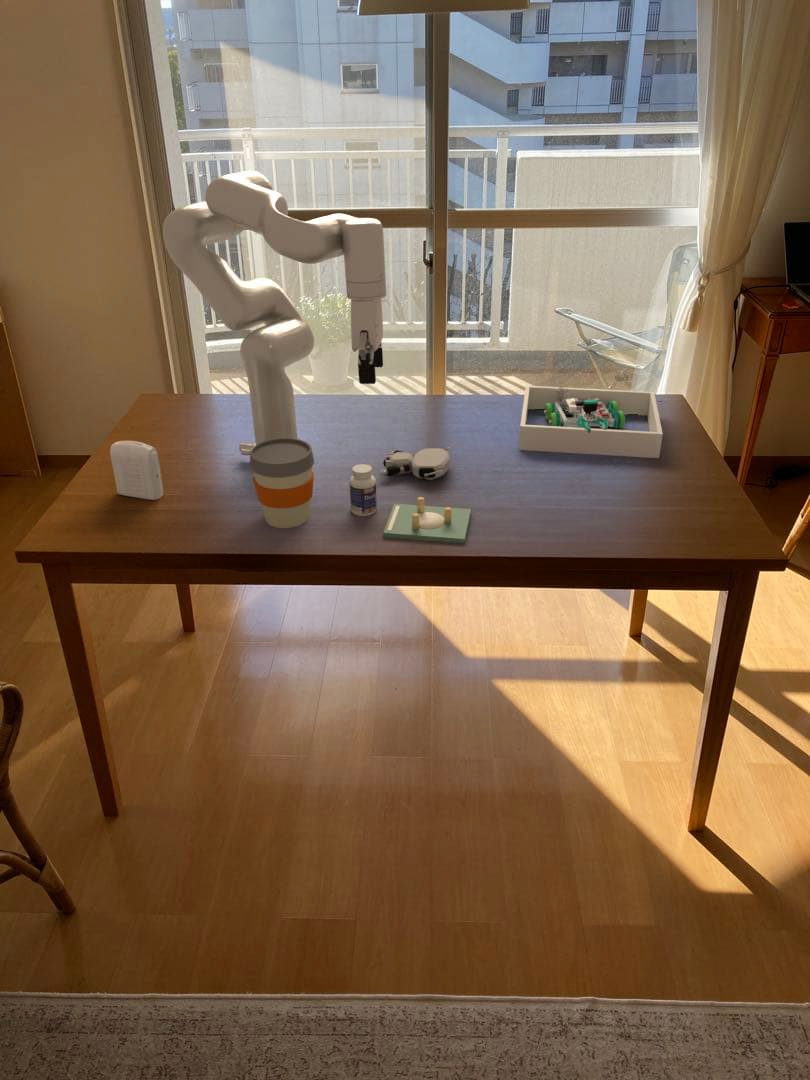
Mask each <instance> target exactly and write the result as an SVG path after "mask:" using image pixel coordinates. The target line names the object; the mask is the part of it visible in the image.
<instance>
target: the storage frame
mask: <svg viewBox="0 0 810 1080" xmlns="http://www.w3.org/2000/svg"><path fill="white" fill-rule="evenodd" d="M559 387H560V386H542V385H541V386H540V385H539V386H538V385H525V390H524V397H523V402H522V403H523V405H522V409H521V410H522V411H521V418H520V419H521V420H520V424H519V427H520V428H519V440H518V441H519V442H518V450H519V451H533V452H551V453H565V454H581V455H584V454H585V455H601V456H616V457H617V456H618V457H633V458H648V459H649V458H651V459H660V455H661V447H662V442H663V435H664V434H663V428H662V424H661V418H660V413H659V410H658V409H659V408H658V405H657V404H658V403H657V399H656V393H655V391H646V390H645V391H644V390H643V391H642V390H641V391H640V390H624V389H623V390H622V389H621V390H620V389H602V388H601V389H600V388H599V389H598V388H583V387H563V388H564V389H568V390H565V391H568V393H569V399H571V398H589V399H590V400H594V399H595V398H599V399H600V401H602V402H603V404H604V405H605V407H606V409H607V404H608V402H611V403H612V402H613V401H616V402H617V404H618V412H619V411H623V412H624V413H627V414H626V415H628V414H638V415H637V416H646V417H647V422H648V427H649V431H645V430H643V431H642V430H630V429H629V430H628V429H625V430H623V429H608V428H607V429H605V430H603V428H594V427H593V428H592V427H590V428H591V433H587V432H588V430H587V429H585V428H580V427H564V426H560V427H557V426H550V425H535V424H527V421H528V413H529V410H534V409H545V405H546V404H547V403H550V404H552V403H554V404H555V403H556V402H558V403H562V400H561V401H560V400H558V399H557V398H556V390H557V389H558V388H559ZM566 399H567V398H566ZM563 400H564V399H563ZM559 405H560V404H559ZM559 405H558V406H559ZM562 405H563V404H562ZM562 405H561V406H562ZM564 406H565V405H564Z"/></svg>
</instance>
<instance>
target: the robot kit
mask: <svg viewBox="0 0 810 1080" xmlns="http://www.w3.org/2000/svg"><path fill="white" fill-rule="evenodd" d="M558 387H559V388H558V389H557V390H556V398H557V399H558V400H560V401H561V400H562V403H558V402H556V403H555V404H554V403H552V404H550V403H547V404H546V405H545V410H543V413H544V417H545V419H546V421H548V423H549V426H557V427H561V425H562V426H563V427H575V428H585V429H587V430H588V432H587V433H591V428H592V427H599V428H600V429H603V430H605V429H608V427H614V428H615V429H617V428H619V429H623V428H624V426H625V423H626V416H625V415H626V414H624V412H623V411H619V412H618V404H617V402H616V401H613V402H612V403H611V402H608V404H607V409H606V407H605V405H604V404H603V402H602V401H600V399H599V398H595V399H594V400H590V399H589V398H571V399H569V393H568V391H565V390H568V389H564V388H565V387H564V388H563V387H561V386H558ZM566 398H567V399H566ZM563 399H564V400H563ZM559 404H560V405H559ZM562 404H563V405H562ZM558 405H559V406H558ZM561 405H562V406H561ZM564 405H565V406H564ZM562 410H568V411H562Z"/></svg>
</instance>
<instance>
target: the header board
mask: <svg viewBox="0 0 810 1080" xmlns="http://www.w3.org/2000/svg"><path fill="white" fill-rule="evenodd" d="M416 499H417V500H416V501H417V502H416V503H417V505H416V504H403V503H393V505H392V509H391V511H390V514H389V517H388V519H387V522H386V524H385V527H384V529H383V535H382V536H383V538H391V539H404V540H416V541H417V540H419V541H428V542H429V541H431V542H439V543H440V542H444V543H452V544H453V543H456V544H465V543H466V538H467V534H468V528H469V525H470V520H471V515H472V509H471V508H462V507H461V508H459V507H449V506H447V507H446V506H445V507H444V506H433V505H431V506H430V505H425V498H424V497H422V496H418V497H417V498H416Z"/></svg>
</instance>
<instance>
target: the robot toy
mask: <svg viewBox="0 0 810 1080" xmlns="http://www.w3.org/2000/svg"><path fill="white" fill-rule="evenodd" d="M451 448H452V447H450V446H448V447H446V448H440V447H439V448H434V447H432V448H431V447H429V448H426V447H425V448H423V449H420V450H419V451H418V452H417V453H416V454H415V455H414V454H412V453H411V452H405V451H401V450H395V451H394V450H393V451H389V452H388V454H387V455H388V456H387V455H386V458H385V459H384V460H383V466H384V467H385V469H384V468H383V469H380V470H379V474H380V475H381V476H386V475H387V476H388V477H391V476H395V475H397V476H398V475H402V474H410V473H411V472H412V474H413V475H414V476H415V477H417V478H419V479H425V480H428V481H431V480H432V481H433V480H435V479H437V478H441V477H442V476H444V475H445V473H446V472H448V470H449V469H450V466H451V465H450V462H451V461H450V454H449V452H448V451H447V450H450V449H451Z"/></svg>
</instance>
